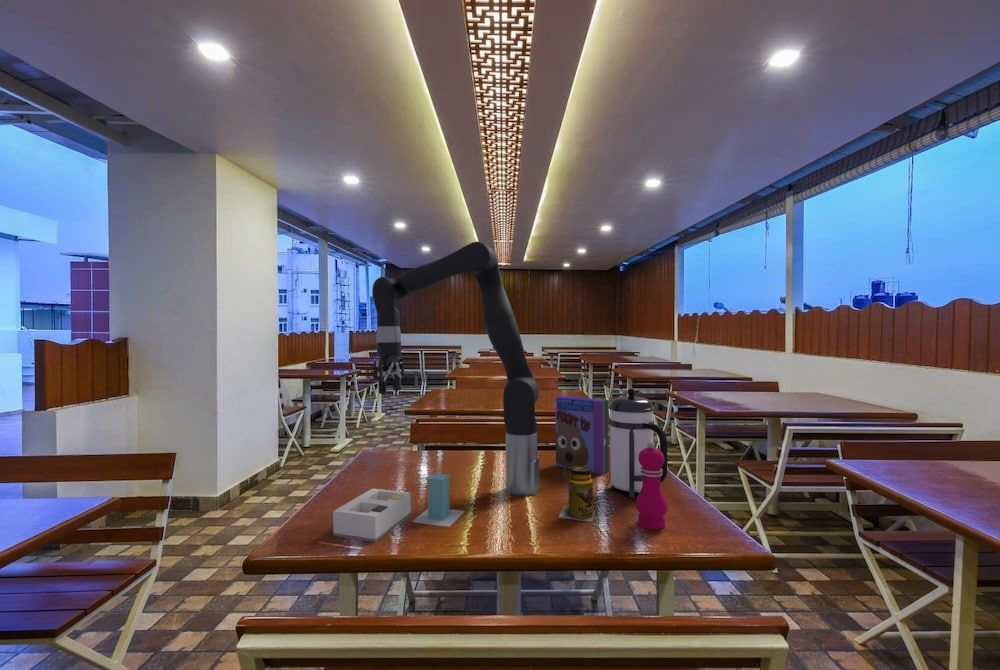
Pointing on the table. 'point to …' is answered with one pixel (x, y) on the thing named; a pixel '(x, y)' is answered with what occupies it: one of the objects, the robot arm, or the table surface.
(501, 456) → the table surface
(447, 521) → the mat
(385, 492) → the socket box
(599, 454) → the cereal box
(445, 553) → the table surface
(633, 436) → the coffee press
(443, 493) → the plug
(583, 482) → the condiment
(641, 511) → the pepper mill
